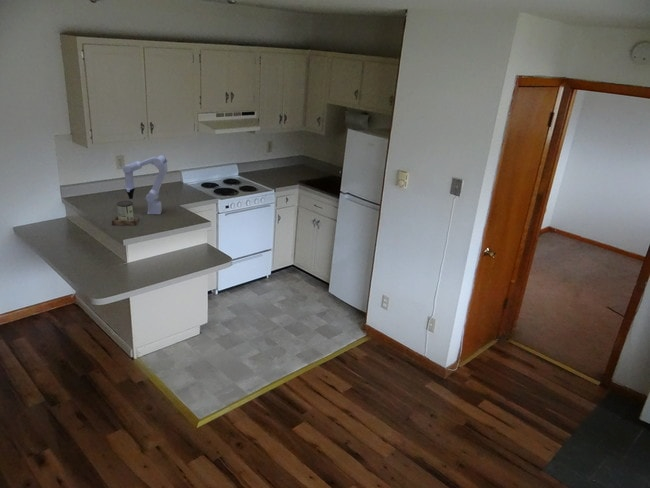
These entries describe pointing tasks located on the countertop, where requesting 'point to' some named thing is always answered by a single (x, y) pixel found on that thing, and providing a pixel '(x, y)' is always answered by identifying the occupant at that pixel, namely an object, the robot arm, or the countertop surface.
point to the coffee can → (125, 210)
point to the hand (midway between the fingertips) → (131, 198)
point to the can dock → (125, 221)
